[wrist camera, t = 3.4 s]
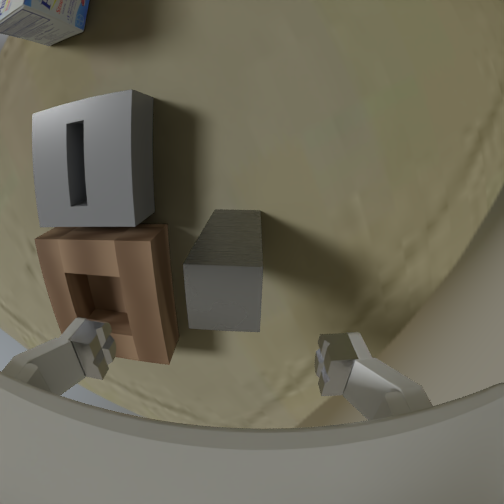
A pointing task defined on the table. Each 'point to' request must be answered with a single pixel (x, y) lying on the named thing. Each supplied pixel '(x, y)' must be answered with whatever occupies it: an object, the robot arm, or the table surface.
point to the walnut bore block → (114, 284)
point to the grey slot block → (95, 161)
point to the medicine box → (43, 19)
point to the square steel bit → (226, 273)
